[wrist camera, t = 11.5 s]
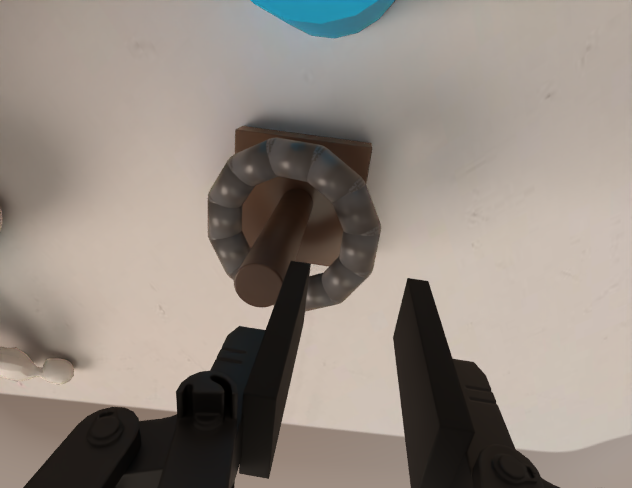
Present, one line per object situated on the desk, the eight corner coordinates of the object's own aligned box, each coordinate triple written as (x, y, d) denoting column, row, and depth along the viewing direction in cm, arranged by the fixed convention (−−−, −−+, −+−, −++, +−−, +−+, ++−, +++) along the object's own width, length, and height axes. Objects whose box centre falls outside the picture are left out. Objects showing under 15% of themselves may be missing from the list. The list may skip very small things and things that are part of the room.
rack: (238, 243, 28) (163, 351, 17) (242, 125, 24) (151, 171, 14) (351, 259, 27) (346, 380, 17) (371, 143, 24) (380, 203, 13)
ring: (217, 278, 24) (202, 292, 23) (219, 124, 20) (200, 128, 19) (364, 316, 22) (358, 335, 21) (397, 154, 18) (392, 162, 17)
